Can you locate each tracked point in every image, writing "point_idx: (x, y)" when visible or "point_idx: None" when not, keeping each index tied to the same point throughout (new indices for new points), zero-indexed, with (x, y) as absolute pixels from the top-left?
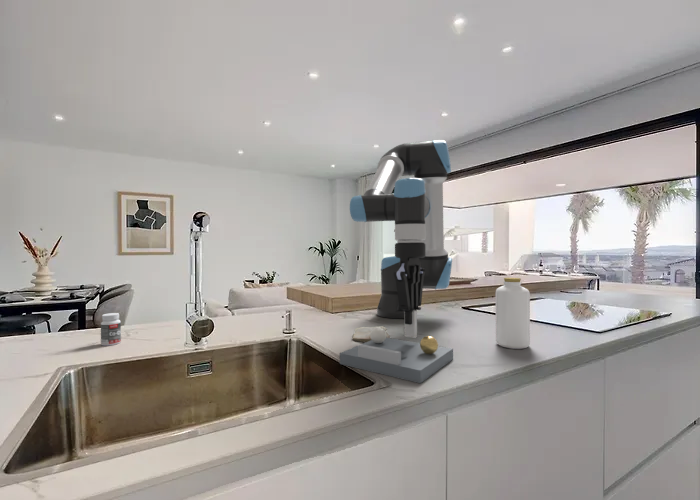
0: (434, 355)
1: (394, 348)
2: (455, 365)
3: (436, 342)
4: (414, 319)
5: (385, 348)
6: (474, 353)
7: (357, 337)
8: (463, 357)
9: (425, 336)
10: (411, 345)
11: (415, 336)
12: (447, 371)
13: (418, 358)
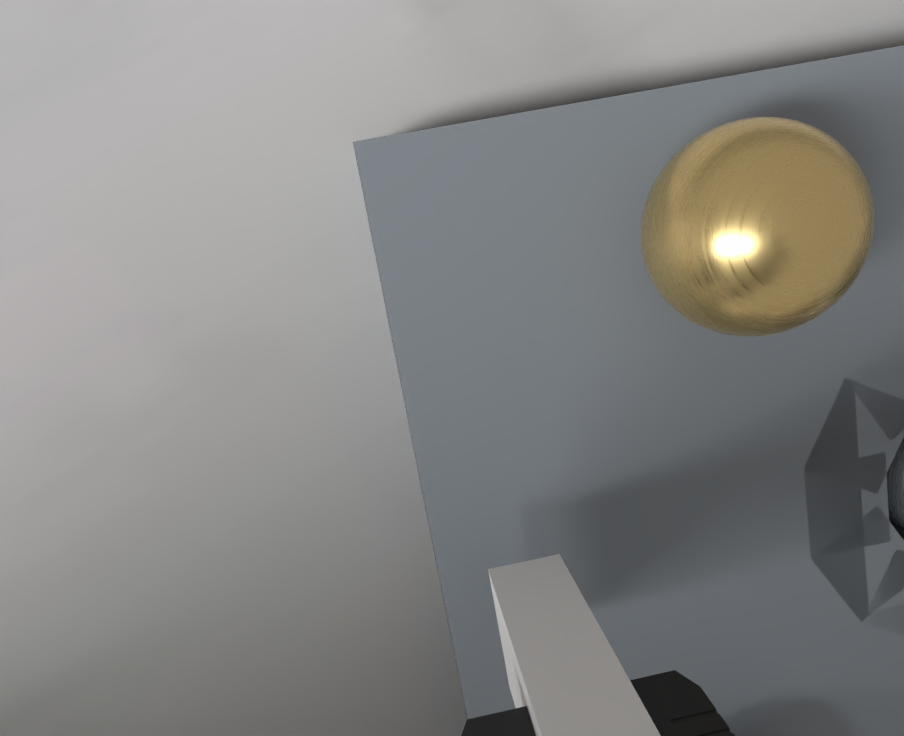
0: None
1: (772, 577)
2: (508, 37)
3: (770, 122)
4: (633, 693)
5: (824, 633)
6: (4, 83)
7: None
8: (227, 104)
9: (816, 277)
10: (573, 532)
11: (535, 564)
12: (702, 8)
13: (901, 216)
